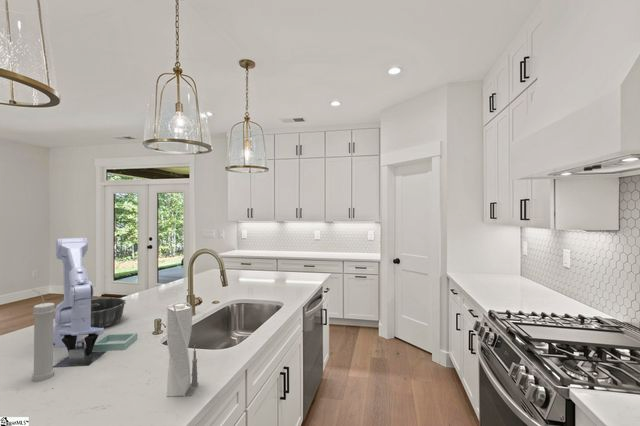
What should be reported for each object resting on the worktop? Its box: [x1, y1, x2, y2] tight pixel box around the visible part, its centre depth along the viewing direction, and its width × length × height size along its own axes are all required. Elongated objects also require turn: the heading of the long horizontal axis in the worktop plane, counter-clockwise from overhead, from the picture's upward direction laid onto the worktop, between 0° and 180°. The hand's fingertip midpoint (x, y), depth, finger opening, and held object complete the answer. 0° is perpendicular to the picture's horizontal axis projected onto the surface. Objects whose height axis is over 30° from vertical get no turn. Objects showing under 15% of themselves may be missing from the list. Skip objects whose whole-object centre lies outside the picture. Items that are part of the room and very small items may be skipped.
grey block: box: [68, 340, 92, 362], centre depth 115 cm, size 5×5×6 cm
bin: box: [92, 332, 138, 352], centre depth 128 cm, size 12×11×4 cm
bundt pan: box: [62, 297, 126, 328], centre depth 155 cm, size 26×26×10 cm
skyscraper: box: [165, 301, 199, 398], centre depth 96 cm, size 8×8×28 cm
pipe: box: [31, 289, 56, 382], centre depth 102 cm, size 6×6×30 cm
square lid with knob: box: [53, 351, 108, 369], centre depth 115 cm, size 12×12×4 cm
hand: (80, 355), depth 115 cm, fingers closed on grey block, 5 cm apart
